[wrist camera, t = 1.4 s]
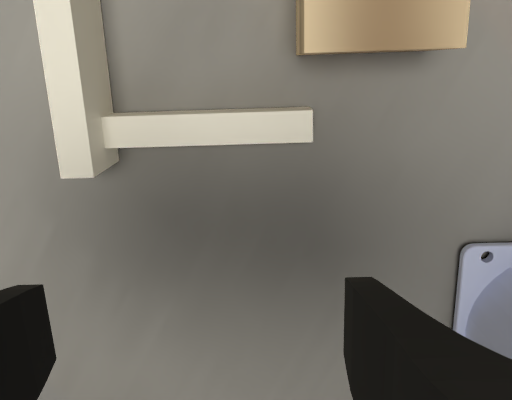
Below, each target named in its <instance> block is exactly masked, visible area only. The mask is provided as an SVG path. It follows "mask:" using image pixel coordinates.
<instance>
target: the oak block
mask: <svg viewBox="0 0 512 400" xmlns="http://www.w3.org/2000/svg"><path fill="white" fill-rule="evenodd" d="M469 10H470V0H296V55H317V54H347V53H376V52H406V51H430V50H443V49H457V48H466V43H467V32H468V21H469Z"/></svg>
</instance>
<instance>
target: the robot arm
mask: <svg viewBox="0 0 512 400" xmlns="http://www.w3.org/2000/svg"><path fill="white" fill-rule="evenodd" d="M487 251H489V255H488V257H487V258H485V259H481V256H482V254H483V253H484V252H487ZM344 358H345V364H346V370H347V375H348V380H349V385H350V391H351V394H352V397H353V400H512V242H510V243H472V244H468V245H466V246H465V247H464V248H463V249H462V250H461V253H460V262H459V272H458V282H457V293H456V303H455V313H454V323H453V330H452V329H450V328H449V327H447V326H445V325H443V324H442V323H440V322H438V321H437V320H435V319H433V318H432V317H430V316H429V315H427V314H425V313H424V312H422V311H421V310H419V309H418V308H416V307H415V306H413V305H412V304H410V303H409V302H408V301H406V300H405V299H403V298H402V297H400V296H399V295H398V294H396V293H395V292H393V291H392V290H390V289H389V288H388V287H386V286H385V285H383V284H382V283H380V282H379V281H377V280H376V279H374V278H372V277H351V278H345V311H344ZM55 361H56V354H55V348H54V343H53V337H52V332H51V326H50V321H49V315H48V310H47V304H46V299H45V293H44V288H43V285H17V286H13V287H9V288H6V289H3V290H0V400H37V399H38V397H39V395H40V393H41V391H42V389H43V387H44V385H45V383H46V381H47V379H48V377H49V374H50V372H51V370H52V368H53V365H54V363H55Z"/></svg>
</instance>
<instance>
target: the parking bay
mask: <svg viewBox="0 0 512 400" xmlns="http://www.w3.org/2000/svg"><path fill="white" fill-rule="evenodd" d="M33 3H34V10H35V16H36V22H37V29H38V35H39V42H40V48H41V55H42V61H43V67H44V74H45V80H46V87H47V93H48V99H49V106H50V112H51V119H52V125H53V131H54V138H55V144H56V151H57V157H58V163H59V170H60V176H61V179H67V178H94V177H96V176H97V175H99V174H100V173H102V172H103V171H105V170H106V169H108V168H109V167H111V166H112V165H114V164H115V163H117V162H118V161H119V155H118V148H135V147H169V146H202V145H236V144H269V143H303V142H313V110H312V109H311V108H310V107H283V108H252V109H220V110H189V111H158V112H127V113H113V105H112V96H111V88H110V79H109V71H108V62H107V54H106V46H105V37H104V29H103V20H102V12H101V3H100V0H33Z"/></svg>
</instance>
